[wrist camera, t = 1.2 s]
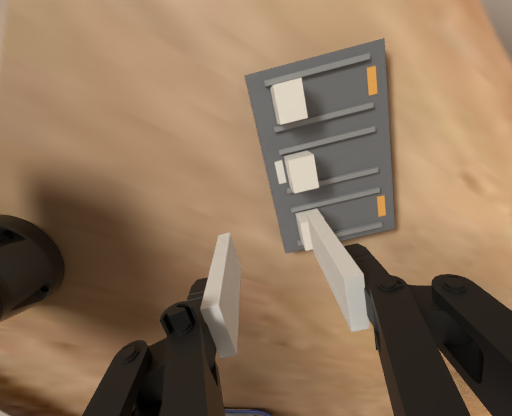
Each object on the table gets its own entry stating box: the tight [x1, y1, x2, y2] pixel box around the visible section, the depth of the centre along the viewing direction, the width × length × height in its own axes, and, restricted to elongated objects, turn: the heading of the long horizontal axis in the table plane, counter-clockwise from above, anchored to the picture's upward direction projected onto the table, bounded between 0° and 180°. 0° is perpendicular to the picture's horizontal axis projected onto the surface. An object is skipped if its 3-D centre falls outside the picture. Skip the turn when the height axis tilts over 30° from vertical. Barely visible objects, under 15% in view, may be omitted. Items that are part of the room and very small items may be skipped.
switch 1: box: [270, 78, 308, 125], centre depth 28 cm, size 3×4×4 cm
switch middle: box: [284, 150, 319, 194], centre depth 31 cm, size 3×4×4 cm
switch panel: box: [245, 38, 395, 253], centre depth 34 cm, size 16×24×3 cm, turn 14°
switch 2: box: [295, 208, 324, 251], centre depth 34 cm, size 3×4×4 cm
